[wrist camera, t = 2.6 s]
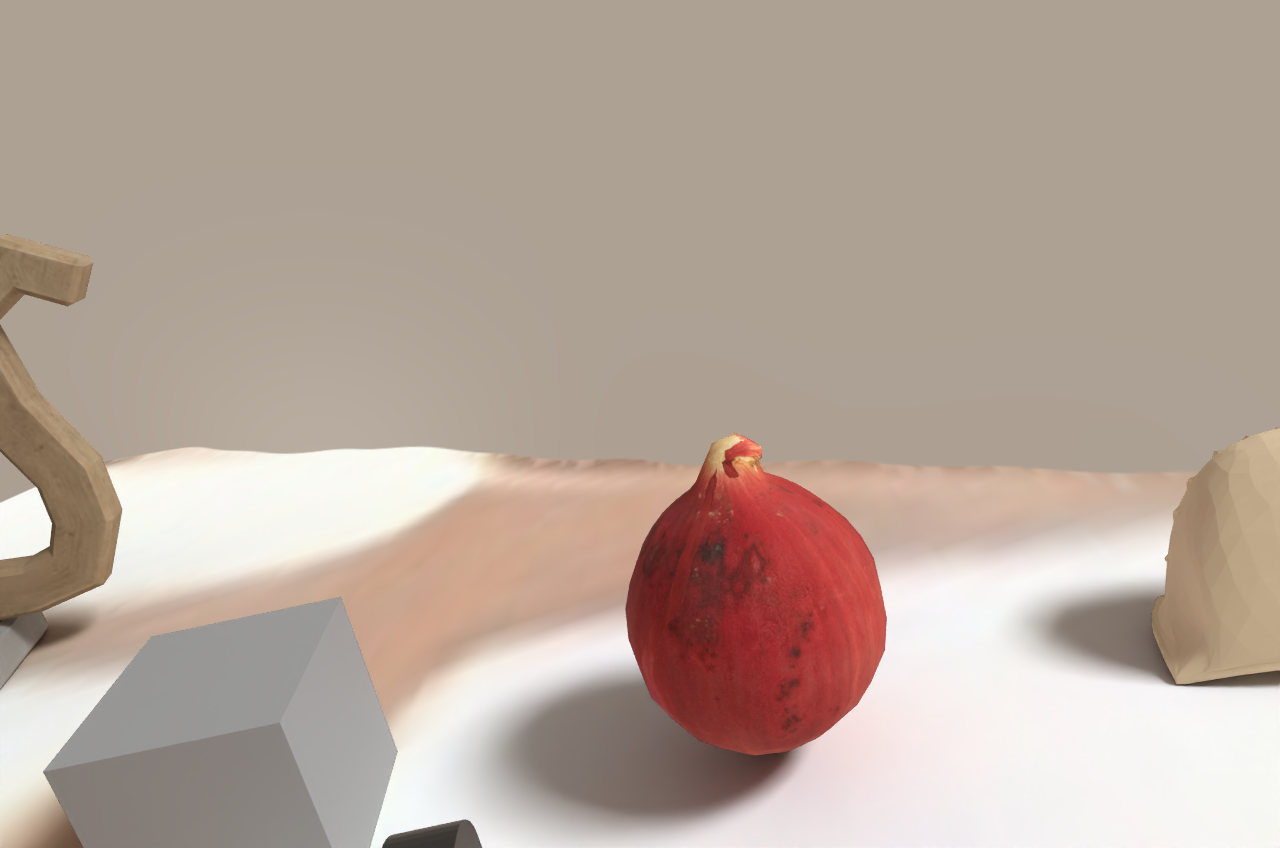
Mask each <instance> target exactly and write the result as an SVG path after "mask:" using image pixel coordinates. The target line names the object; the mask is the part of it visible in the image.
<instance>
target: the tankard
mask: <svg viewBox="0 0 1280 848" xmlns="http://www.w3.org/2000/svg"><path fill="white" fill-rule="evenodd" d="M92 266H93V262H92V261H91V259H90V258H89V256H87V255H84V254H80V253H76V252H72V251H68V250H65V249H61V248H57V247H53V246H49V245H46V244H42V243H38V242H34V241H31V240H27V239H23V238H19V237H16V236H12V235H8V234H6V235H2V236H0V319H1V318H2V317H3V316H4V315H5V314H6V313H7V312H8V311H9V310H10V309H11V308H12V307H13V306H14V305H15V304H16V303H17V302H18V301H19V300H20V298H21V297H22V296H23V295H24V294H26V295H29V296H33V297H37V298H40V299H43V300H47V301H51V302H54V303H58V304H61V305H65V306H69V305H71V304H73V303H75V302H78V301H79V300H82V299H84V298H85V296H86V292H87V287H88V283H89V279H90V274H91V270H92ZM0 452H2V454H3V455H5V457H6V458H8V459H9V461H10V462H11V463H13V464H14V465H15V466H16V467H17V468H18V469H19V470H20V471H21V472H22V473H23V474H24V475H25V476H26V477H27V478H28V479H29V480H30V481H31V482H32V483H33V484H34V485H35V486H36V487H37V488H38V490H39V493H40V495H41V498H42V500H43V503H44V505H45V507H46V510H47V512H48V515H49V517H50V519H51V522H52V530H51V539H50V546H49V547H47V548H46V549H44V550H42V551H40V552H39V553H37V554H35V555H33V556H26V557H19V558H12V559H4V560H0V690H1V688H2V687H3V686H4V684H5V683H6V682H7V681H8V679H9V678H10V677H11V675H12V674H13V673H14V672H15V670H16V669H17V668H18V667H19V665H20V664H21V663H22V661H23V660H24V659H25V658H26V656H27V655H28V654H29V652H30V651H31V650H32V649H33V647H34V646H35V645H36V643H37V642H38V641H39V640H40V638H41V637H42V636H43V634H44V633H45V631H46V630H47V628H48V623H47V621H46V619H45V617H44V615H43V613H42V611H44V610H47V609H49V608H51V607H53V606H56V605H58V604H60V603H62V602H65V601H67V600H69V599H71V598H74V597H76V596H78V595H81V594H83V593H85V592H87V591H90V590H92V589H94V588H96V587H99V586H101V585H103V584H104V583H105V582H106V580H107V579H108V577H109V576H110V575H111V573H112V567H113V562H114V556H115V550H116V544H117V538H118V532H119V526H120V520H121V514H122V507H121V505H120V502H119V499H118V497H117V494H116V492H115V489H114V487H113V484H112V482H111V479H110V477H109V474H108V471H107V469H106V466H105V464H104V461H103V459H102V456H101V455H100V454H99V453H98V452H97V451H96V450H95V449H94V448H93V447H92V446H91V445H90V444H89V443H88V442H87V441H86V440H85V439H84V438H83V437H82V436H81V435H80V434H79V432H77V430H76V429H75V428H74V427H73V426H72V425H71V424H70V423H69V422H68V421H67V420H66V419H65V418H64V417H63V416H62V415H61V414H60V413H59V412H58V411H57V410H56V409H55V408H54V407H53V406H52V405H51V404H50V402H48V400H47V399H45V397H44V396H43V395H42V394H41V393H40V392H39V390H38V389H37V387H36V385H35V383H34V382H33V380H32V378H31V377H30V375H29V373H28V372H27V370H26V368H25V366H24V365H23V363H22V361H21V359H20V358H19V356H18V354H17V353H16V351H15V349H14V348H13V346H12V344H11V342H10V341H9V339H8V337H7V335H6V334H5V332H4V330H3V329H2V327H1V325H0Z"/></svg>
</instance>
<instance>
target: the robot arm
mask: <svg viewBox="0 0 1280 848" xmlns="http://www.w3.org/2000/svg"><path fill="white" fill-rule="evenodd" d="M382 848H482V846H481V843H480V840H479V838H478V835H477V832H476V830H475V828H474V826H473V825H472V823H471V822H470V821H468V820H460V821H455V822H451V823H446V824H441V825H437V826H432V827H427V828H423V829H418V830H413V831H409V832H404V833H399V834H395V835H391V836H389V837H388V838H387V839H386V841H385V842H384V844H383V847H382Z"/></svg>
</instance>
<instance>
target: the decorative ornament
mask: <svg viewBox="0 0 1280 848" xmlns="http://www.w3.org/2000/svg"><path fill="white" fill-rule="evenodd" d="M1173 519H1174V523H1173V527H1172V532H1171V536H1170V543H1169V551H1168V555H1167V556H1166V557H1165V561H1167V571H1166V586H1165V595H1164V596H1161V597H1158V598H1157V599H1156V601H1155V606H1154V608H1153V611H1152V613H1151V617H1152V628H1153V634H1154V636H1155V639H1156V641H1157V643H1158V646H1159V648H1160V650H1161V653H1162V655H1163V658H1164V660H1165V662H1166V665H1167V667H1168V669H1169V671H1170V672H1171V674H1172V676H1173V678H1174V680H1175V682H1176V684H1189V683H1195V682H1201V681H1207V680H1213V679H1220V678H1226V677H1232V676H1239V675H1246V674H1254V673H1261V672H1269V671H1277V670H1280V428H1275V429H1274V430H1271V431H1268V432H1264V433H1260V434H1256V435H1253V436H1246V437H1245V438H1243V439H1242V441H1239V442H1237V443H1235V444H1233V445H1231V446H1229V447H1228V448H1226V449H1225V450H1222V451H1214V454H1213V457H1212V459H1211V460H1210V461H1209V462H1208V463H1207V464H1206V465H1205V466H1204V467H1203V468H1202V469H1201V471H1200V472H1199V473H1198V474H1197V475H1196V476H1195V477H1193V478H1190V479H1189V480H1188V481H1187V490H1186V492H1185V494H1184V496H1183V498H1182V500H1181V502H1180V504H1179V507H1178V508H1177V509H1176V510H1175V511H1174V512H1173Z"/></svg>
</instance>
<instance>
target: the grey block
mask: <svg viewBox="0 0 1280 848" xmlns="http://www.w3.org/2000/svg"><path fill="white" fill-rule="evenodd" d="M397 752H398V751H397V748H396V746H395V743H394V740H393V738H392V735H391V732H390V729H389V727H388V724H387V721H386V718H385V716H384V713H383V710H382V707H381V705H380V702H379V699H378V696H377V694H376V691H375V688H374V685H373V683H372V680H371V677H370V675H369V672H368V669H367V666H366V664H365V661H364V658H363V655H362V653H361V650H360V647H359V644H358V642H357V639H356V636H355V633H354V631H353V628H352V625H351V622H350V620H349V617H348V614H347V612H346V609H345V606H344V603H343V601H342V598H341V597H338V598H334V599H329V600H324V601H319V602H315V603H310V604H305V605H300V606H296V607H291V608H286V609H281V610H277V611H272V612H267V613H262V614H258V615H253V616H248V617H243V618H239V619H234V620H229V621H224V622H220V623H215V624H210V625H205V626H201V627H196V628H191V629H186V630H182V631H177V632H172V633H167V634H163V635H158V636H153V637H151V638H150V639H149V640H148V641H147V643H146V644H145V645H144V646H143V648H142V649H141V650H140V651H139V653H138V654H137V655H136V656H135V658H134V659H133V660H132V661H131V663H130V664H129V665H128V666H127V668H126V669H125V670H124V671H123V673H122V674H121V675H120V676H119V678H118V679H117V680H116V681H115V683H114V684H113V685H112V686H111V688H110V689H109V690H108V691H107V693H106V694H105V695H104V696H103V698H102V699H101V700H100V701H99V703H98V704H97V705H96V706H95V708H94V709H93V710H92V711H91V713H90V714H89V715H88V716H87V718H86V719H85V720H84V721H83V723H82V724H81V725H80V726H79V728H78V729H77V730H76V731H75V733H74V734H73V735H72V736H71V738H70V739H69V740H68V741H67V743H66V744H65V745H64V746H63V748H62V749H61V750H60V751H59V753H58V754H57V755H56V756H55V758H54V759H53V760H52V761H51V763H50V764H49V765H48V766H47V768H46V769H45V770H44V771H43V773H44V774H45V776H46V778H47V780H48V782H49V784H50V786H51V788H52V789H53V791H54V793H55V795H56V797H57V799H58V801H59V803H60V804H61V806H62V808H63V810H64V812H65V814H66V816H67V818H68V819H69V821H70V823H71V825H72V827H73V829H74V831H75V833H76V835H77V836H78V838H79V840H80V842H81V844H82V846H83V848H370V845H371V842H372V838H373V835H374V831H375V828H376V825H377V821H378V818H379V814H380V811H381V807H382V804H383V800H384V797H385V793H386V790H387V786H388V783H389V780H390V776H391V773H392V769H393V766H394V762H395V759H396V755H397Z"/></svg>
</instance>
